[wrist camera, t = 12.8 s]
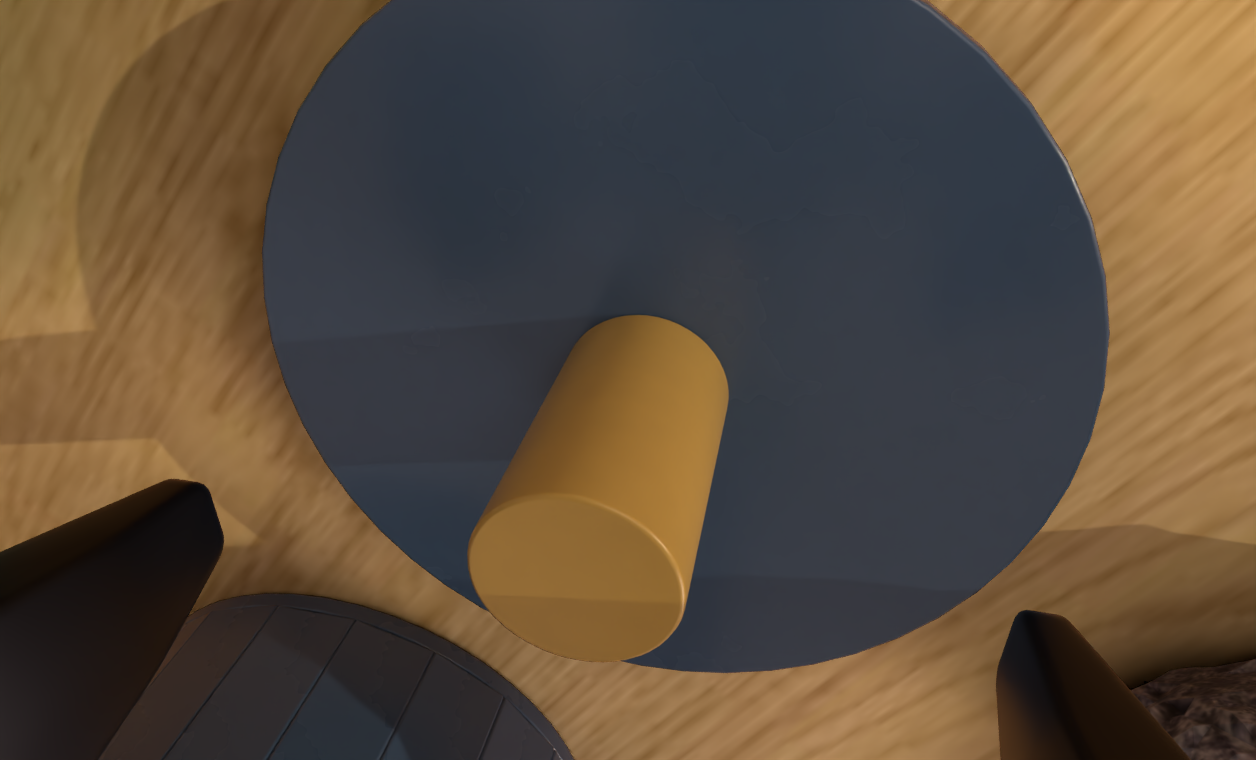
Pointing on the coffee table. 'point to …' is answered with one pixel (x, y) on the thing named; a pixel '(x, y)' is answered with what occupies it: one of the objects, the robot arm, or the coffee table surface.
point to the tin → (325, 691)
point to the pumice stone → (1206, 709)
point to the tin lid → (687, 316)
